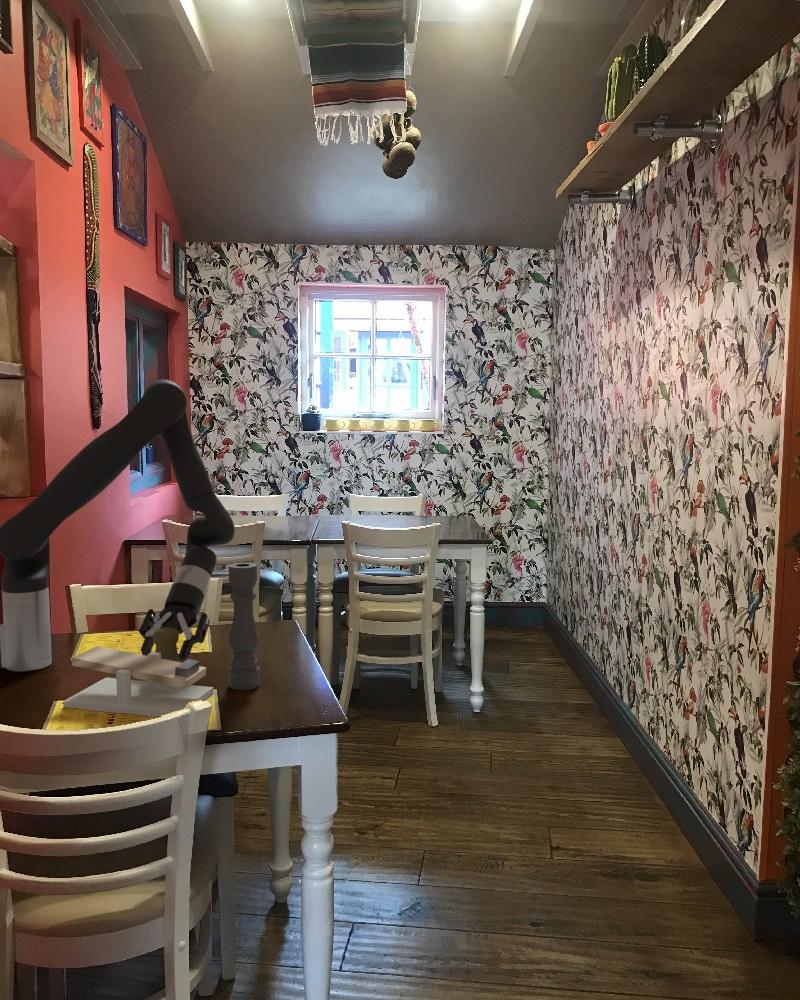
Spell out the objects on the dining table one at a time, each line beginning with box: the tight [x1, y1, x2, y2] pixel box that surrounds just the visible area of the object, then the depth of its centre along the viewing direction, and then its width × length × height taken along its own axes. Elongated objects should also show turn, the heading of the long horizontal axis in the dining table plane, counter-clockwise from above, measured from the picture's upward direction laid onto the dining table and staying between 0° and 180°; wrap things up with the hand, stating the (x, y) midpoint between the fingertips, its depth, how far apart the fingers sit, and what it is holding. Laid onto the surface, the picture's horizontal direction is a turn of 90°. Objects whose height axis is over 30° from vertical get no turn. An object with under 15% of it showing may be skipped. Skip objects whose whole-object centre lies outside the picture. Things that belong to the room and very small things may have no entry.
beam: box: [71, 645, 207, 688], centre depth 154 cm, size 24×8×4 cm, turn 77°
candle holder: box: [228, 562, 261, 691], centre depth 162 cm, size 6×6×25 cm
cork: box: [153, 627, 180, 662], centre depth 166 cm, size 6×6×11 cm
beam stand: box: [62, 651, 214, 718], centre depth 154 cm, size 24×14×8 cm, turn 77°
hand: (163, 657), depth 165 cm, fingers open, 8 cm apart
